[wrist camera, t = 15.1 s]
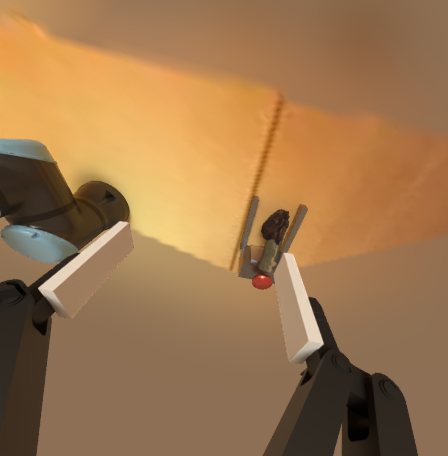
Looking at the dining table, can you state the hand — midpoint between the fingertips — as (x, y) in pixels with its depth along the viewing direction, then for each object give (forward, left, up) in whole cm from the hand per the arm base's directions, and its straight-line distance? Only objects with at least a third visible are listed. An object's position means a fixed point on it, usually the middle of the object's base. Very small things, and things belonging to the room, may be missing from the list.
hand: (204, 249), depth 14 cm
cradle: (+15, -20, -35) cm, 43 cm away
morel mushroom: (+15, -19, -30) cm, 39 cm away
